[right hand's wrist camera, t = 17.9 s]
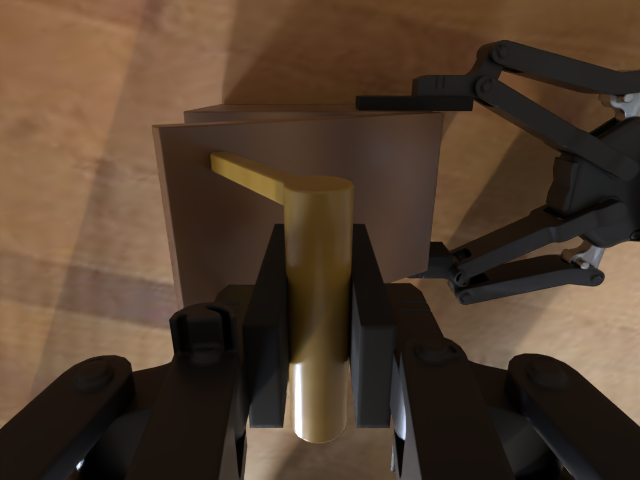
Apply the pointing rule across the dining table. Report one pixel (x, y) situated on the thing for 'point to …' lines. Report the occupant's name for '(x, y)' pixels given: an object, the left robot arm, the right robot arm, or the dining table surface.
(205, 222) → the lid
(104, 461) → the right robot arm
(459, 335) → the dining table surface
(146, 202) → the dining table surface
